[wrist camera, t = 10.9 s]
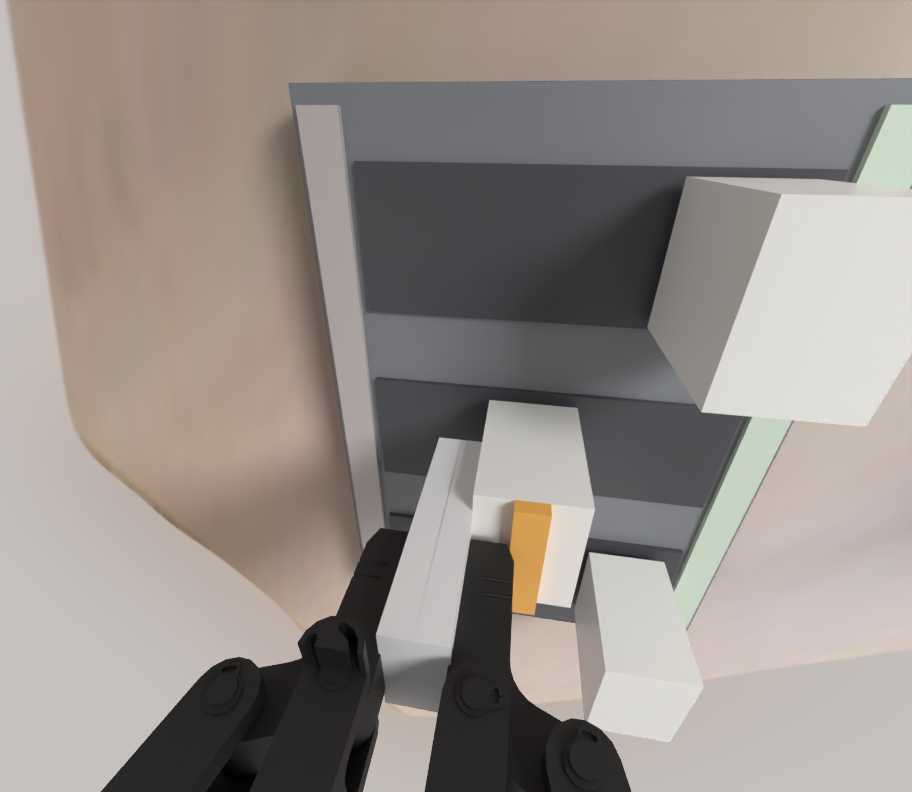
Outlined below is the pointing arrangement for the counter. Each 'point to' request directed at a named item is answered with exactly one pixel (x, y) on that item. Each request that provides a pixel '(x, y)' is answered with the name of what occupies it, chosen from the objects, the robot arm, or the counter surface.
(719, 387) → the breaker near
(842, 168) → the panel
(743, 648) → the counter surface
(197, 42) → the counter surface
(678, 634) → the block
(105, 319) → the counter surface
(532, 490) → the breaker mid
